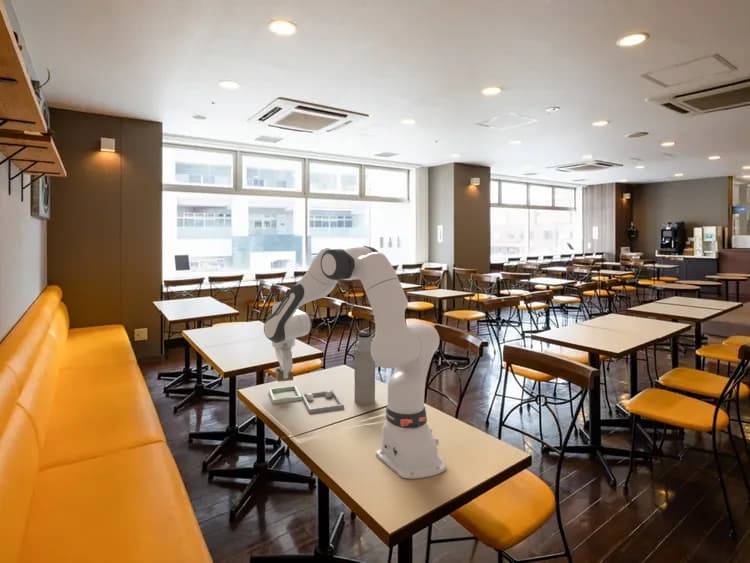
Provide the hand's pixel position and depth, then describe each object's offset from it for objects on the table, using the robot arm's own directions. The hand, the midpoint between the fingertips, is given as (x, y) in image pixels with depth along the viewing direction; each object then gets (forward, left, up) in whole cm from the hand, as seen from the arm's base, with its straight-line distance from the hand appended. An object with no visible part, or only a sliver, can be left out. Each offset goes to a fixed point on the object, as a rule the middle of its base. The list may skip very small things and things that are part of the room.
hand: (284, 374), depth 177 cm
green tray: (0, 0, -10) cm, 10 cm away
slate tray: (-12, -13, -10) cm, 20 cm away
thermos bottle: (-16, -29, -10) cm, 34 cm away
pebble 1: (-8, -9, -9) cm, 15 cm away
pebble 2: (-7, -16, -9) cm, 20 cm away
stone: (0, 0, -1) cm, 1 cm away
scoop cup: (0, 0, -2) cm, 2 cm away
